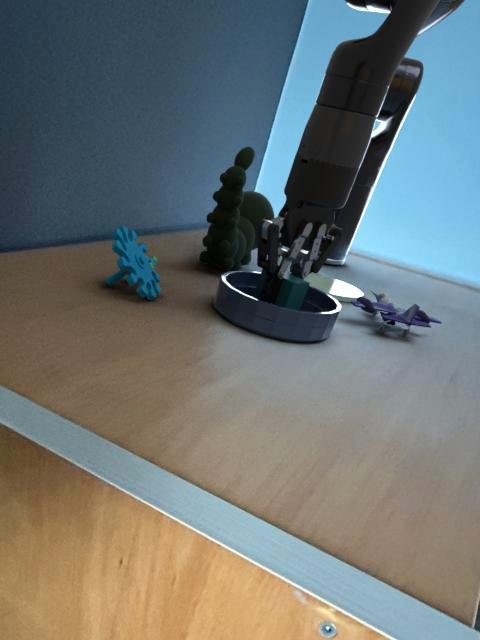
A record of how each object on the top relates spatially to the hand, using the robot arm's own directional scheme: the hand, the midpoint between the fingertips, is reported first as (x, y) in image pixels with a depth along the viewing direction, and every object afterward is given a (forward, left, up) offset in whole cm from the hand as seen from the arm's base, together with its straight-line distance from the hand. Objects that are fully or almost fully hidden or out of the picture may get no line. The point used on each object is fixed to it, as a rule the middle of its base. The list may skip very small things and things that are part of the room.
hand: (275, 303), depth 77 cm
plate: (-12, +25, -2) cm, 28 cm away
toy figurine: (-24, +12, -2) cm, 27 cm away
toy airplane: (+4, +20, -2) cm, 21 cm away
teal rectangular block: (0, 0, -1) cm, 1 cm away
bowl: (0, 0, -2) cm, 2 cm away
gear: (-11, -16, -2) cm, 20 cm away
